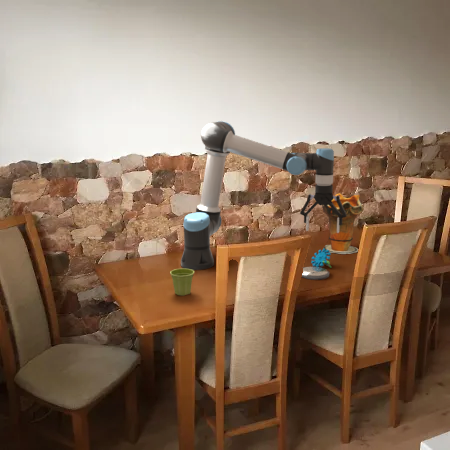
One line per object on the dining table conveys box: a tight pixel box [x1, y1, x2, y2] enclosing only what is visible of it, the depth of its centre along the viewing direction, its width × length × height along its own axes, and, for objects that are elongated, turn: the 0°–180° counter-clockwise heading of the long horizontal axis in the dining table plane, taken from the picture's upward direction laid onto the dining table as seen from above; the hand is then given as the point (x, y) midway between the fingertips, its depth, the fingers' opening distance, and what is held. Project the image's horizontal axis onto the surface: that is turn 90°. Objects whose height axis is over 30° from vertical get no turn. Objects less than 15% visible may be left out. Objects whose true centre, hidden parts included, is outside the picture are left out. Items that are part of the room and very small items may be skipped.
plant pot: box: [169, 267, 195, 296], centre depth 202 cm, size 9×9×9 cm
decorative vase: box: [321, 193, 365, 255], centre depth 258 cm, size 21×23×28 cm
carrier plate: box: [301, 266, 330, 281], centre depth 223 cm, size 13×13×2 cm
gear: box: [310, 248, 332, 269], centre depth 235 cm, size 11×6×10 cm
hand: (322, 231), depth 231 cm, fingers open, 13 cm apart
